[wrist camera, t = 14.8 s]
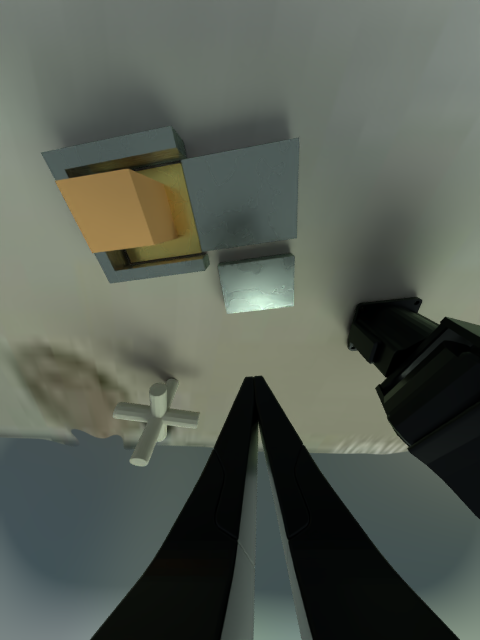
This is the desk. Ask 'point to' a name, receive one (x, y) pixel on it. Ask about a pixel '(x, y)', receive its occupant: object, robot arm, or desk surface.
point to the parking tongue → (258, 283)
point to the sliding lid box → (195, 196)
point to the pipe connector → (155, 418)
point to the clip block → (119, 210)
